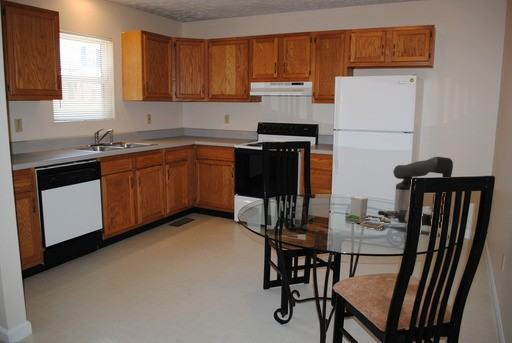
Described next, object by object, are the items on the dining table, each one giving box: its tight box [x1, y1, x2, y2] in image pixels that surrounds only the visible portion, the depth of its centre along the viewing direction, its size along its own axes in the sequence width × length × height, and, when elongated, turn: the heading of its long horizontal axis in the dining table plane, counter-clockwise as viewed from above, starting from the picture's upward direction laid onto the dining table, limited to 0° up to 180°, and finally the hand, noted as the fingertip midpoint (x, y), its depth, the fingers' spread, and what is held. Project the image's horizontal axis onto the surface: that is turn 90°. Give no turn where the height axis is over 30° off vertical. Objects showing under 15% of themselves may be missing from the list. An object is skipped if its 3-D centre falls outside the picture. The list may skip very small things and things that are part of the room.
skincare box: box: [349, 195, 369, 222], centre depth 253 cm, size 8×7×16 cm
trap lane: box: [345, 213, 391, 231], centre depth 251 cm, size 24×24×4 cm
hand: (378, 212), depth 247 cm, fingers closed
